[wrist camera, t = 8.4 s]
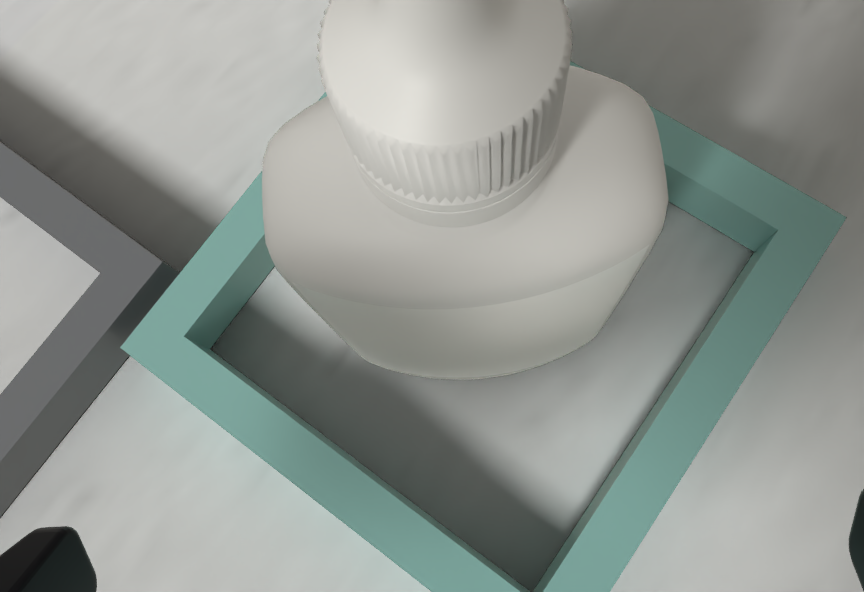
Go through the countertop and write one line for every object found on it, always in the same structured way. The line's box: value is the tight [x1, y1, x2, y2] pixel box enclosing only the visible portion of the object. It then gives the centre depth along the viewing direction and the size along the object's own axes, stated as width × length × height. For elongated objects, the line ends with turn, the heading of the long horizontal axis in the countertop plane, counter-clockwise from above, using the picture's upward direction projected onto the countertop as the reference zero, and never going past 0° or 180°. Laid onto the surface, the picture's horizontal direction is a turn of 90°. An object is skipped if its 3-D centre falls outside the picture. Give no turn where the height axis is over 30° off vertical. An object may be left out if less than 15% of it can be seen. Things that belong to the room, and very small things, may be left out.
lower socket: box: [120, 61, 847, 592], centre depth 16 cm, size 11×11×2 cm
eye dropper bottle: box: [262, 0, 669, 380], centre depth 11 cm, size 4×6×12 cm
